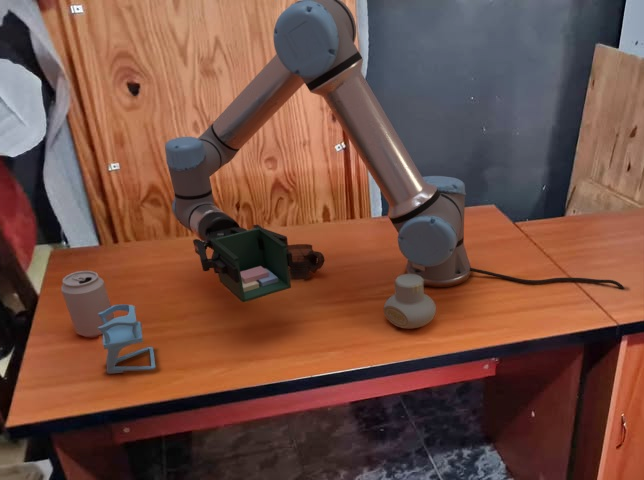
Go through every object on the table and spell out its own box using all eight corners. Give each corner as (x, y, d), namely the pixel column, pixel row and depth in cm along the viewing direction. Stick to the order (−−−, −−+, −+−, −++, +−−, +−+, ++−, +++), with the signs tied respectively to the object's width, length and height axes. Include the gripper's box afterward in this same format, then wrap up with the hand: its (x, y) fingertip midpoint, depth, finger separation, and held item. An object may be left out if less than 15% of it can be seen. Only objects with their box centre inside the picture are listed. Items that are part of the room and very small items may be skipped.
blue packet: (251, 277, 134) (250, 272, 134) (267, 272, 136) (266, 268, 136) (262, 286, 131) (261, 282, 131) (278, 282, 133) (278, 277, 132)
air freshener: (378, 320, 144) (375, 277, 139) (405, 305, 149) (404, 264, 144) (415, 338, 138) (414, 295, 133) (442, 323, 144) (442, 281, 138)
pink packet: (245, 283, 130) (244, 279, 129) (237, 277, 132) (236, 272, 131) (269, 276, 133) (268, 272, 132) (261, 270, 135) (260, 265, 134)
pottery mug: (272, 282, 158) (268, 246, 157) (295, 282, 167) (291, 248, 166) (317, 277, 154) (313, 240, 153) (338, 278, 163) (334, 243, 162)
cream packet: (231, 282, 132) (231, 278, 132) (248, 278, 134) (247, 273, 133) (242, 292, 129) (242, 288, 128) (259, 287, 131) (258, 283, 130)
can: (101, 341, 134) (84, 288, 127) (68, 336, 135) (49, 283, 129) (124, 322, 140) (109, 270, 134) (92, 318, 141) (75, 266, 135)
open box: (219, 282, 134) (210, 239, 128) (267, 268, 139) (261, 227, 134) (242, 303, 127) (234, 259, 122) (291, 287, 132) (286, 245, 127)
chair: (106, 359, 129) (89, 304, 123) (153, 350, 132) (138, 295, 126) (107, 381, 124) (89, 324, 117) (156, 371, 127) (141, 315, 120)
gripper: (269, 232, 148) (320, 269, 134) (164, 259, 136) (208, 303, 122) (264, 199, 144) (316, 234, 130) (156, 224, 132) (200, 265, 118)
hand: (264, 267), depth 126 cm, fingers closed on open box, 10 cm apart
